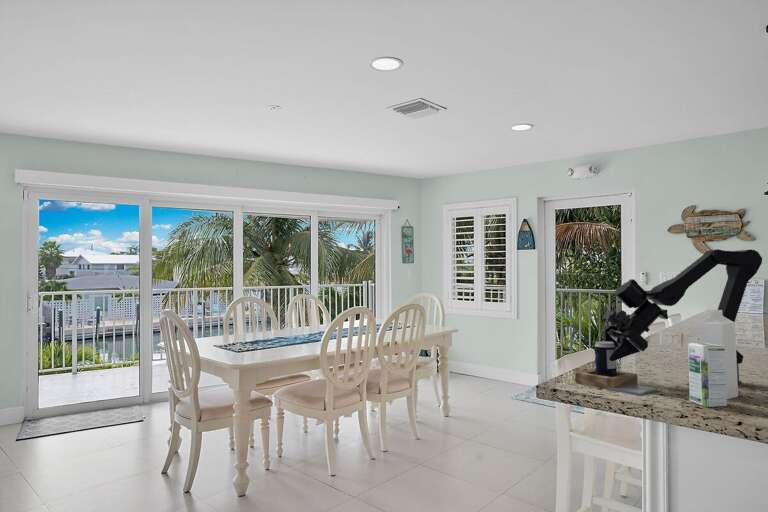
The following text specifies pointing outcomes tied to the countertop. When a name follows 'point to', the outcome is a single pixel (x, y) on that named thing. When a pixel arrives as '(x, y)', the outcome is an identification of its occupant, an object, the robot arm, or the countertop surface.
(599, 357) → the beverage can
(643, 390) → the slate coaster
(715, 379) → the syrup box
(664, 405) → the countertop surface
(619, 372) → the walnut pocket block
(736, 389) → the milk
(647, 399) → the countertop surface
